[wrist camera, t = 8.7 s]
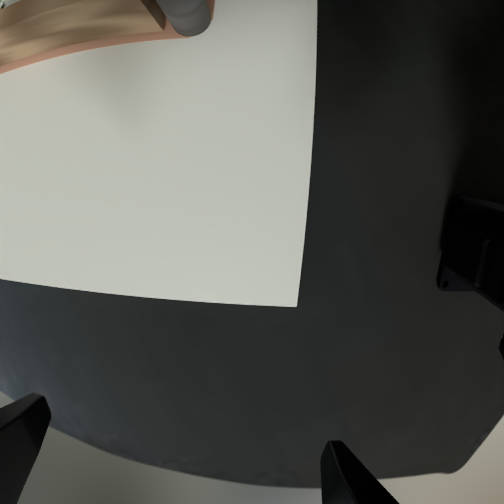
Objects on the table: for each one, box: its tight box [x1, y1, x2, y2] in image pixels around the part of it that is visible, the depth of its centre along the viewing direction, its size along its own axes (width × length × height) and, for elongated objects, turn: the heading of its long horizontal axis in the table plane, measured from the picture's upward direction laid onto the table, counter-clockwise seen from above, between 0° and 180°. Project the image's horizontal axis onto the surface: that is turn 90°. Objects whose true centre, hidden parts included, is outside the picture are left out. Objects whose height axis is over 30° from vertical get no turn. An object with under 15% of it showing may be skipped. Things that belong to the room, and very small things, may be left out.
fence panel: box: [0, 0, 166, 66], centre depth 11 cm, size 15×2×6 cm, turn 86°
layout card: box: [0, 0, 317, 307], centre depth 15 cm, size 23×30×1 cm
